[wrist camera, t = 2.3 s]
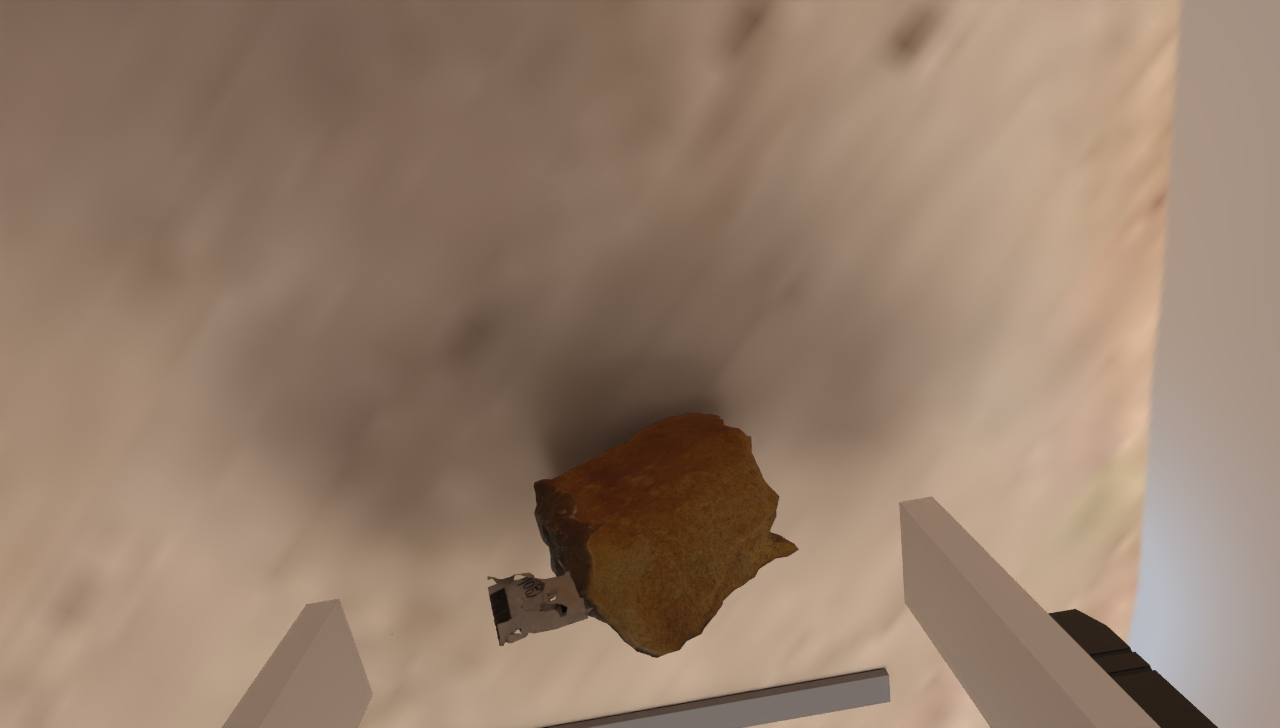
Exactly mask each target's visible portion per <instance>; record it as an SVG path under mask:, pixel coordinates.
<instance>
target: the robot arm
mask: <svg viewBox="0 0 1280 728" xmlns="http://www.w3.org/2000/svg"><path fill="white" fill-rule="evenodd" d="M899 504H900V522H901V541H902V559H903V578H904V596H905V603H906V605H907V606H908V608H909V609H910V610H911V612H912V613H913V615H914V616H915V618H916V619H917V621H918V622H919V624H920V625H921V627H922V628H923V629H924V631H925V632H926V634H927V635H928V637H929V638H930V640H931V641H932V643H933V644H934V645H935V647H936V648H937V650H938V651H939V653H940V654H941V656H942V657H943V659H944V660H945V661H946V663H947V664H948V666H949V667H950V669H951V670H952V672H953V673H954V675H955V676H956V678H957V679H958V680H959V682H960V683H961V685H962V686H963V688H964V689H965V691H966V692H967V694H968V695H969V696H970V698H971V699H972V701H973V702H974V704H975V705H976V707H977V708H978V710H979V711H980V713H981V714H982V715H983V717H984V718H985V720H986V721H987V723H988V724H989V726H990V727H991V728H1218V727H1217V726H1216V725H1214V724H1213V723H1212V722H1211V721H1210V720H1209V719H1208V718H1207V717H1206V716H1205V715H1204V714H1203V713H1201V712H1200V711H1199V710H1198V709H1197V708H1196V707H1195V706H1194V705H1193V704H1192V703H1191V702H1189V701H1188V700H1187V699H1186V698H1185V697H1184V696H1183V695H1182V694H1181V693H1179V691H1177V690H1176V689H1175V688H1174V687H1173V686H1172V685H1171V684H1170V683H1169V682H1168V681H1167V680H1165V679H1164V678H1163V677H1162V676H1161V675H1160V674H1158V672H1157V671H1155V670H1152V669H1151V667H1150V665H1149V664H1148V663H1147V662H1146V661H1145V660H1144V659H1142V658H1141V657H1140V656H1139V655H1138V654H1137V653H1136V652H1132V651H1131V648H1130V647H1129V646H1128V645H1127V644H1126V643H1125V642H1124V641H1123V640H1122V639H1121V638H1120V637H1118V636H1117V635H1116V634H1115V633H1114V632H1113V631H1112V630H1111V629H1110V628H1109V627H1108V626H1106V625H1104V624H1102V623H1101V622H1099V621H1097V620H1095V619H1093V618H1091V617H1089V616H1088V615H1086V614H1084V613H1082V612H1080V611H1078V610H1076V609H1073V610H1067V611H1061V612H1055V613H1049V614H1048V613H1047V612H1046V611H1045V610H1044V609H1043V608H1042V607H1041V606H1040V605H1039V604H1038V603H1037V602H1036V601H1035V600H1034V599H1033V598H1032V597H1031V596H1030V595H1029V594H1028V593H1027V592H1026V591H1025V590H1024V589H1023V588H1022V587H1021V586H1020V585H1019V584H1018V583H1017V582H1016V581H1015V580H1014V579H1013V578H1012V577H1011V576H1010V575H1009V574H1008V573H1007V572H1006V571H1005V570H1004V569H1003V568H1002V567H1001V566H1000V565H999V564H998V563H997V562H996V561H995V560H994V559H993V558H992V557H991V556H990V555H989V554H988V553H987V552H986V551H985V550H984V548H983V547H982V546H981V545H980V544H979V543H978V542H977V541H976V540H975V539H974V538H973V537H972V536H971V535H970V534H969V533H968V532H967V531H966V530H965V529H964V528H963V527H962V526H961V525H960V524H959V523H958V522H957V521H956V520H955V519H954V518H953V517H952V516H951V515H950V514H949V513H948V512H947V511H946V510H945V509H944V508H943V507H942V506H941V505H940V504H939V503H938V502H937V501H936V500H935V499H934V498H933V497H927V498H921V499H915V500H909V501H904V502H899ZM372 695H373V693H372V690H371V687H370V684H369V681H368V679H367V676H366V673H365V670H364V667H363V665H362V662H361V659H360V656H359V653H358V650H357V648H356V645H355V642H354V639H353V636H352V633H351V631H350V628H349V625H348V622H347V619H346V617H345V614H344V611H343V608H342V605H341V602H340V600H339V599H335V600H329V601H323V602H318V603H312V604H306V606H305V607H304V609H303V610H302V612H301V613H300V615H299V616H298V618H297V619H296V620H295V622H294V623H293V625H292V626H291V628H290V629H289V631H288V632H287V634H286V635H285V636H284V638H283V639H282V641H281V642H280V644H279V645H278V647H277V648H276V650H275V651H274V652H273V654H272V655H271V657H270V658H269V660H268V661H267V663H266V664H265V666H264V667H263V668H262V670H261V671H260V673H259V674H258V676H257V677H256V679H255V680H254V681H253V683H252V684H251V686H250V687H249V689H248V690H247V692H246V693H245V695H244V696H243V697H242V699H241V700H240V702H239V703H238V705H237V706H236V708H235V709H234V711H233V712H232V713H231V715H230V716H229V718H228V719H227V721H226V722H225V724H224V725H223V727H222V728H358V726H359V724H360V722H361V719H362V717H363V715H364V713H365V710H366V708H367V706H368V704H369V701H370V699H371V697H372Z"/></svg>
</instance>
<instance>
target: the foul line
mask: <svg viewBox="0 0 1280 728" xmlns="http://www.w3.org/2000/svg"><path fill="white" fill-rule="evenodd" d="M886 702H890V687H889V674H888V673H887V671H886V669H881V670H875V671H869V672H864V673H858V674H852V675H846V676H841V677H835V678H829V679H824V680H818V681H812V682H806V683H801V684H795V685H789V686H784V687H778V688H772V689H766V690H761V691H755V692H749V693H743V694H738V695H732V696H726V697H721V698H715V699H709V700H703V701H698V702H692V703H686V704H680V705H675V706H669V707H663V708H658V709H652V710H646V711H640V712H635V713H629V714H623V715H618V716H612V717H606V718H600V719H595V720H589V721H583V722H577V723H572V724H566V725H560V726H555V727H549V728H743V727H748V726H754V725H760V724H766V723H771V722H777V721H783V720H789V719H794V718H800V717H806V716H811V715H817V714H823V713H829V712H834V711H840V710H846V709H851V708H857V707H863V706H869V705H874V704H880V703H886Z"/></svg>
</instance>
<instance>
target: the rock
mask: <svg viewBox="0 0 1280 728" xmlns="http://www.w3.org/2000/svg"><path fill="white" fill-rule="evenodd" d="M751 451H752V445H751V437H750V436H747V435H746V434H745V433H744V432H742V431H741V430H740V429H739V428H732V427H728V426H725V425H724V421H723V419H720V417H719V416H717V415H714V414H701V413H686V414H684V415H682V416H675V417H670V418H667V419H665V420H663V421H661V422H658V423H655V424H653V425H651V426H649V427H646V428H644V429H642V430H640V431H639V432H637V433H636V434H635V435H634V436H633V437H632V438H631V439H630V440H629V442H628V443H625V444H622V445H620V446H619V447H615V448H611V449H609V450H608V451H606V452H605V453H603V454H602V455H600V456H598V457H596V458H594V459H592V460H590V461H588V462H586V463H584V464H582V465H579V466H577V467H575V468H573V469H571V470H570V471H568V472H566V473H564V474H563V475H561V476H560V477H557V478H553V479H545V480H540V481H538V482H535V483H534V489H535V492H536V503H537V506H536V509H535V513H534V514H535V517H536V521H537V524H538V527H539V530H540V534H541V537H542V539H543V541H544V542H545V544H546V545H548V546H549V550H550V555H551V568H552V571H553V572H554V573H555V575H556V577H554V578H549V579H538V578H535V577H534V575H532V574H530V573H523V574H516V575H522V576H525V578H522V579H519V580H514V576H515V574H514V575H513V576H511V577H509V578H505V579H497V578H494V577H488V579H493V580H494V581H495V582H496V583H497V584H496V585H493V586H491V587H488V590H489V596H490V601H491V607H492V612H493V616H494V618H495V619H494V622H495V626H496V630H497V635H498V640H499V646H504V643H505V642H507V643H513V642H515V641H517V640H520V639H522V638H524V637H526V636H527V635H528V633H538V632H543V631H548V630H553V629H557V628H560V627H563V626H566V625H569V624H572V623H575V622H578V621H581V620H584V619H587V618H588V616H591V617H595V618H596V619H598V620H600V621H602V622H605V623H607V624H608V625H610V626H611V628H613V629H614V630H615V631H616V632H617V633H618V634H619V636H620V637H621V638H622V639H623V641H624V642H626V643H627V644H629V645H630V646H631V647H633V648H634V649H635V650H636V651H637V652H641V653H644V654H647V655H650V656H651V657H656V658H658V657H660V656H663V655H665V654H668V653H671V652H675V651H678V650H680V649H681V648H682V646H683V645H684V644H685V642H686V641H688V640H690V639H692V638H694V637H696V636H698V635H700V634H702V632H703V630H704V628H705V627H706V626H707V624H708V623H709V622H710V621H711V619H712V618H713V617H714V616H715V615H716V613H717V612H718V610H719V609H720V608H721V606H722V604H723V601H724V600H725V599H726V598H727V597H728V596H729V595H730V594H731V593H732V592H733V591H734V590H735V589H737V588H739V587H741V586H743V585H744V584H745V583H746V582H748V581H749V580H750V579H752V578H754V577H755V576H756V574H757V572H758V570H759V569H760V568H761V567H763V566H764V565H766V564H767V563H769V562H771V561H772V560H774V559H776V558H781V557H787V556H789V555H791V554H792V553H794V552H796V551H797V550H799V549H798V548H797V547H796V545H795V544H794V543H792V542H790V541H788V540H786V539H785V538H783V537H782V536H780V535H777V534H774V533H771V532H770V529H771V527H772V524H773V522H774V520H775V518H776V509H777V505H778V500H779V496H778V495H777V494H776V493H775V491H774V490H773V489H772V488H771V487H770V486H769V485H768V484H767V483H766V482H765V480H764V478H763V476H762V474H761V472H760V469H759V467H758V465H757V463H756V461H755V459H754V456H753V454H752V452H751ZM554 597H556V599H555V600H552V601H550V599H552V598H554ZM587 615H588V616H587ZM518 629H519V630H520V631H521V633H522V634H514V632H515V631H516V630H518ZM392 634H393V633H392ZM392 634H391V635H392Z"/></svg>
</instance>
